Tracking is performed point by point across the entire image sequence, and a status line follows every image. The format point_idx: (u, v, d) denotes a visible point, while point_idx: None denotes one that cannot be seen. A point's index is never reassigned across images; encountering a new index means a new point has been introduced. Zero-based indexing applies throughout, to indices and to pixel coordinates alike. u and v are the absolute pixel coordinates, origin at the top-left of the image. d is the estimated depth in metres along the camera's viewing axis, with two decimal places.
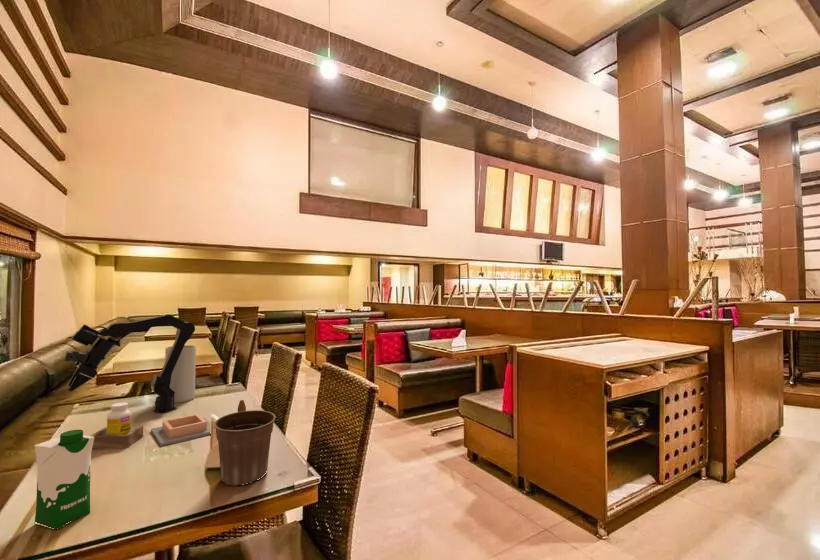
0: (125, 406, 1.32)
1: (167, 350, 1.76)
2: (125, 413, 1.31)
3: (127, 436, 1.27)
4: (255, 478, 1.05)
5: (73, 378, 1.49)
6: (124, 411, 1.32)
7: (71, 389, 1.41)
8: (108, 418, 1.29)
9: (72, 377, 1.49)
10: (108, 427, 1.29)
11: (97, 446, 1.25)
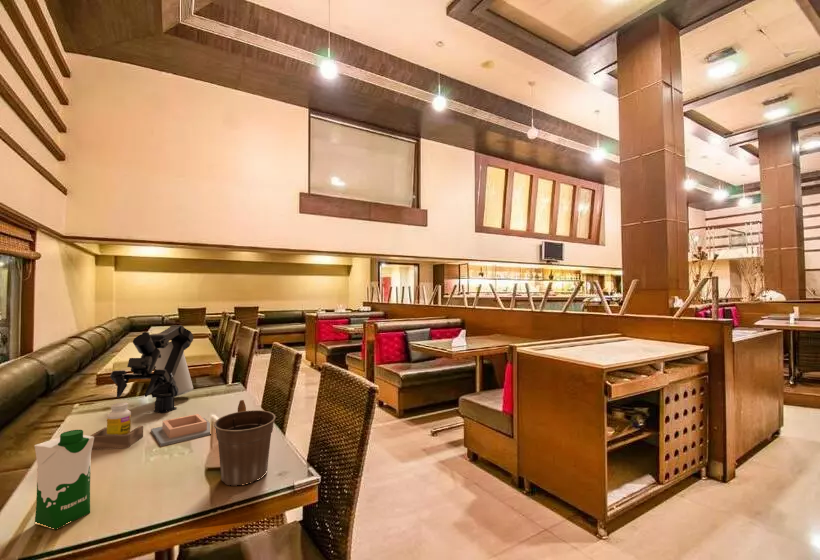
0: (125, 406, 1.32)
1: None
2: (125, 413, 1.31)
3: (127, 436, 1.27)
4: (255, 478, 1.05)
5: (120, 389, 1.41)
6: (124, 411, 1.32)
7: (147, 394, 1.41)
8: (108, 418, 1.29)
9: (120, 388, 1.41)
10: (108, 427, 1.29)
11: (97, 446, 1.25)
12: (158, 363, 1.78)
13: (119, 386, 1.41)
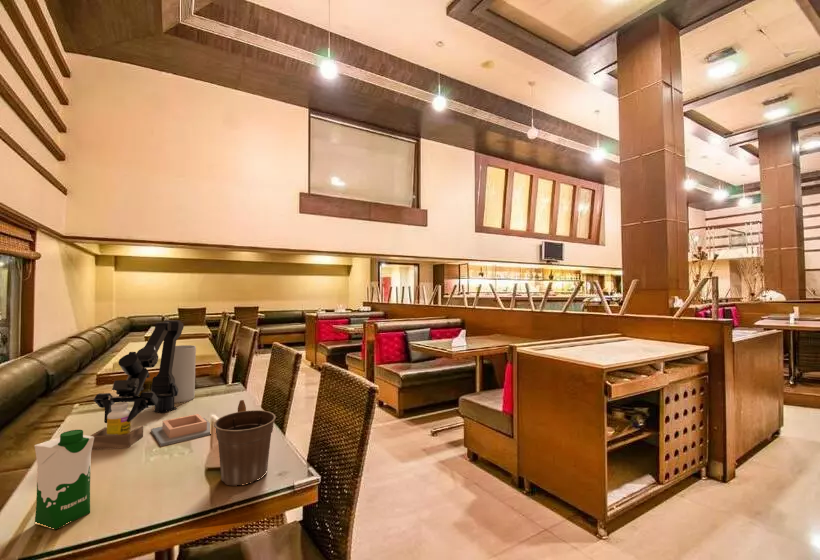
0: (125, 406, 1.32)
1: None
2: (125, 413, 1.31)
3: (127, 436, 1.27)
4: (255, 478, 1.05)
5: (108, 413, 1.32)
6: (124, 411, 1.32)
7: (129, 419, 1.32)
8: (108, 418, 1.29)
9: (108, 412, 1.32)
10: (108, 427, 1.29)
11: (97, 446, 1.25)
12: None
13: (107, 410, 1.32)
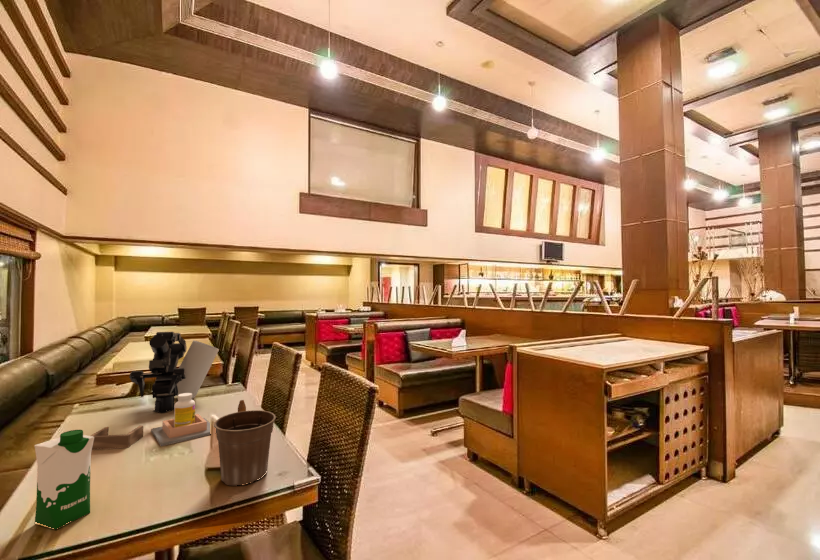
0: None
1: (194, 343, 1.82)
2: (193, 401, 1.42)
3: (127, 436, 1.27)
4: (255, 478, 1.05)
5: (142, 388, 1.49)
6: (192, 400, 1.42)
7: (170, 392, 1.52)
8: (180, 407, 1.38)
9: (142, 387, 1.49)
10: (181, 416, 1.38)
11: (97, 446, 1.25)
12: (188, 359, 1.80)
13: (141, 386, 1.49)
